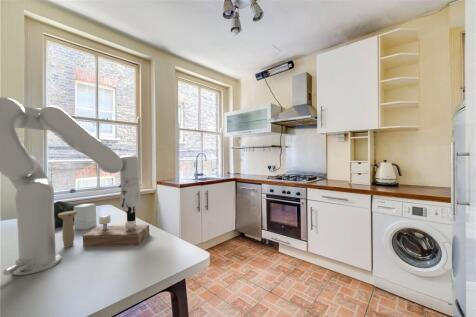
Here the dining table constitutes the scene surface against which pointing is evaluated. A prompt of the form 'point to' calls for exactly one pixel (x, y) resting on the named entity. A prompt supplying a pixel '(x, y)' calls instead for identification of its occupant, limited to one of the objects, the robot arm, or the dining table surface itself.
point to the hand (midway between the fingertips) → (131, 220)
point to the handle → (68, 227)
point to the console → (115, 236)
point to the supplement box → (85, 216)
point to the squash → (61, 211)
